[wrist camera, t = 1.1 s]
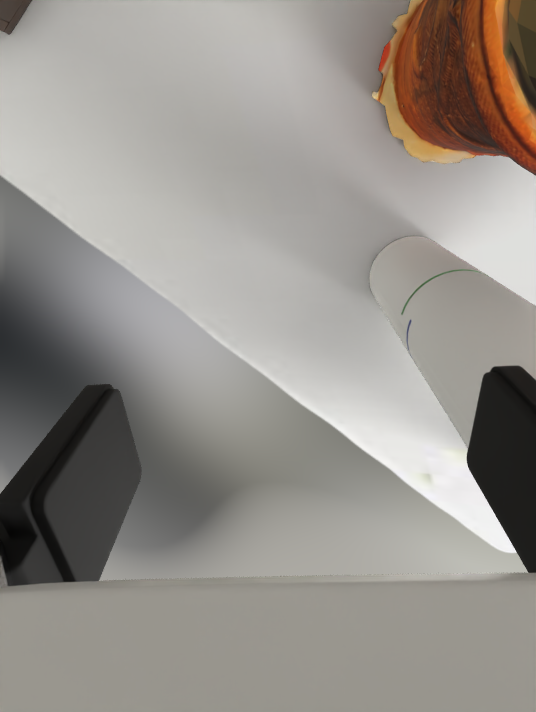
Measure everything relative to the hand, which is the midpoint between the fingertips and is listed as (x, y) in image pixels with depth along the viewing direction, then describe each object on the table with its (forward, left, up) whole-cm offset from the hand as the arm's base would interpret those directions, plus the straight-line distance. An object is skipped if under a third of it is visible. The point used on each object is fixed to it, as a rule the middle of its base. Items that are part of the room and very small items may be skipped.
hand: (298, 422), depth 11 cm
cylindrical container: (-6, +11, -29) cm, 31 cm away
